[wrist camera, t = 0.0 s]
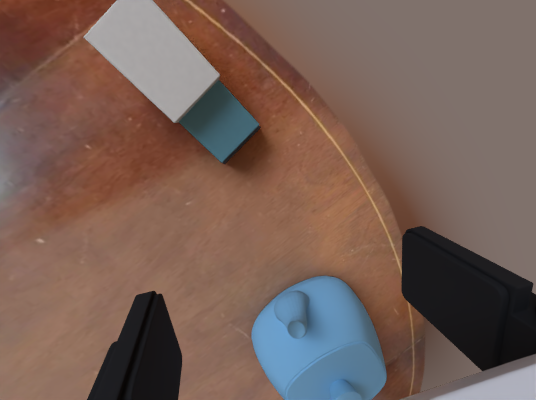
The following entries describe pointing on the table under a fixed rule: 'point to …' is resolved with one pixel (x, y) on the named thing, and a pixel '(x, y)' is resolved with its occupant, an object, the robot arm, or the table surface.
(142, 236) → the table surface
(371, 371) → the teapot
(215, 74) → the two-tone stepped block
